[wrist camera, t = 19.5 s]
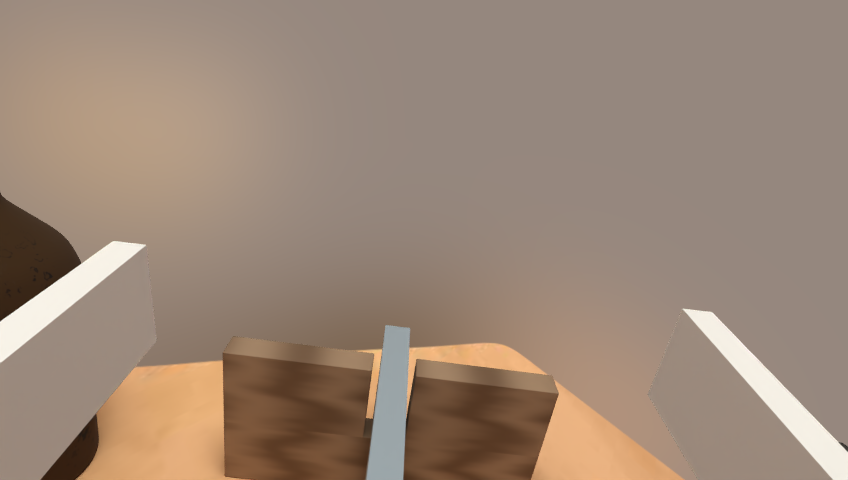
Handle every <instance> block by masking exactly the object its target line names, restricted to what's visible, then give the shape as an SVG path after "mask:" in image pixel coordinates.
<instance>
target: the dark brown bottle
mask: <svg viewBox="0 0 848 480" xmlns="http://www.w3.org/2000/svg"><path fill="white" fill-rule="evenodd" d="M80 264H81V261H80V259H79V257H78V256H77V254H76V252H75V250H74V249H73V247H72V246H71V244H70V243H69V241H68V240H67V239H66V238H65V237H64V236H63V235H62V234H61V233H59V232H58V231H57V230H55V229H54V228H53V227H51V226H49V225H48V224H46V223H44V222H43V221H41V220H39V219H38V218H36V217H34V216H33V215H31V214H29V213H27V212H26V211H24V210H22V209H21V208H19V207H17V206H15V205H14V204H12V203H11V202H9V201H8V200H6V199H5V198H4V197H3V196H2V195H1V193H0V321H2V320H3V319H4V318H6V317H7V316H9V315H10V314H11V313H13V312H14V311H16V310H17V309H18V308H20V307H21V306H23V305H24V304H25V303H27V302H28V301H30V300H31V299H33V298H34V297H35V296H37V295H38V294H40V293H41V292H42V291H44V290H45V289H47V288H48V287H49V286H51V285H52V284H54V283H55V282H56V281H58V280H59V279H61V278H62V277H63V276H65V275H66V274H68V273H69V272H71V271H72V270H73V269H75V268H76V267H78V266H79V265H80ZM98 440H99V437H98V425H97V416H96V414H95V415H94V416H93V417H92V419H91V420H90V421H89V422H88V423H87V425H86V426H85V427H84V428H83V429H82V431H81V432H80V433H79V434H78V435H77V437H76V438H75V439H74V440H73V441H72V443H71V444H70V445H69V446H68V447H67V448H66V450H65V451H64V452H63V453H62V454H61V456H60V457H59V458H58V459H57V460H56V462H55V463H54V464H53V465H52V466H51V468H50V469H49V470H48V471H47V472H46V474H45V475H44V476H43V477H42V478H41V480H74V479H75V478H76V477H77V476H78V475H79V474H81V473H82V472H83V470H84V469H85V468H86V467H87V466H88V465H89V463H90V462H91V460H92V459H93V457H94V455H95V453H96V450H97V447H98Z"/></svg>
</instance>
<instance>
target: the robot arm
mask: <svg viewBox="0 0 848 480" xmlns="http://www.w3.org/2000/svg"><path fill="white" fill-rule="evenodd" d="M156 340H157V339H156V330H155V320H154V311H153V302H152V292H151V283H150V274H149V264H148V256H147V245H142V244H134V243H125V242H117V241H113V242H111V243H110V244H109V245H107V246H106V247H104V248H103V249H102V250H100V251H99V252H97V253H96V254H95V255H93V256H92V257H90V258H89V259H87V260H86V261H85V262H83V263H82V264H80V265H79V266H78V267H76V268H75V269H73V270H72V271H71V272H69V273H68V274H66V275H65V276H63V277H62V278H61V279H59V280H58V281H56V282H55V283H54V284H52V285H51V286H49V287H48V288H47V289H45V290H44V291H42V292H41V293H40V294H38V295H37V296H35V297H34V298H33V299H31V300H30V301H28V302H27V303H25V304H24V305H23V306H21V307H20V308H18V309H17V310H16V311H14V312H13V313H11V314H10V315H9V316H7V317H6V318H4V319H3V320H2V321H0V480H41V478H42V477H43V476H44V475H45V474H46V472H47V471H48V470H49V469H50V468H51V466H52V465H53V464H54V463H55V462H56V460H57V459H58V458H59V457H60V456H61V454H62V453H63V452H64V451H65V450H66V448H67V447H68V446H69V445H70V444H71V443H72V441H73V440H74V439H75V438H76V437H77V435H78V434H79V433H80V432H81V431H82V429H83V428H84V427H85V426H86V425H87V423H88V422H89V421H90V420H91V419H92V417H93V416H94V415H95V414H96V413H97V411H98V410H99V409H100V408H101V407H102V406H103V404H104V403H105V402H106V401H107V400H108V398H109V397H110V396H111V395H112V394H113V392H114V391H115V390H116V389H117V388H118V386H119V385H120V384H121V383H122V382H123V380H124V379H125V378H126V377H127V376H128V374H129V373H130V372H131V371H132V370H133V368H134V367H135V366H136V365H137V364H138V363H139V361H140V360H141V359H142V358H143V357H144V355H145V354H146V353H147V352H148V350H149V349H150V348H151V347H152V346H153V345H154V343H155V342H156ZM648 396H649V398H650V399H651V401H652V403H653V404H654V406H655V408H656V410H657V411H658V413H659V415H660V416H661V418H662V420H663V422H664V423H665V425H666V427H667V428H668V430H669V432H670V433H671V435H672V437H673V439H674V440H675V442H676V444H677V445H678V447H679V449H680V451H681V452H682V454H683V456H684V457H685V459H686V461H687V462H688V464H689V466H690V467H691V469H692V471H693V473H694V474H695V476H696V478H697V479H698V480H848V447H847V446H846V445H844V444H843V443H840V442H837V441H836V439H835V438H834V437H833V436H832V435H831V434H830V433H829V432H828V431H827V430H826V429H825V428H824V427H823V426H822V425H821V424H820V423H819V422H818V421H817V420H816V419H815V418H814V417H813V416H812V415H811V414H810V413H809V412H808V411H807V410H806V409H805V408H804V407H803V406H802V404H801V403H800V402H799V401H798V400H797V399H796V398H794V396H793V395H792V394H791V393H790V392H789V391H788V390H787V389H786V388H785V387H784V386H783V385H782V384H781V383H780V382H779V381H778V380H777V379H776V378H775V377H774V376H773V375H772V374H771V373H770V371H768V369H767V368H766V367H765V366H764V365H763V364H762V363H761V362H760V361H759V360H758V359H757V358H756V357H755V356H754V355H753V354H752V353H751V352H750V351H749V350H748V349H747V348H746V347H745V346H744V345H743V344H742V343H741V342H740V341H739V340H738V339H737V338H736V337H735V335H734V334H733V333H732V332H731V331H730V330H729V329H728V328H727V327H726V326H725V325H724V324H723V323H722V322H721V321H720V320H719V319H718V318H717V317H716V316H715V315H714V314H713V313H712V312H706V311H698V310H689V309H682V311H681V313H680V316H679V318H678V321H677V323H676V326H675V328H674V331H673V333H672V336H671V338H670V341H669V343H668V346H667V348H666V351H665V353H664V356H663V358H662V361H661V363H660V366H659V368H658V371H657V373H656V375H655V378H654V381H653V383H652V385H651V388H650V390H649V393H648Z"/></svg>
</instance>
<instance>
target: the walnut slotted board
mask: <svg viewBox="0 0 848 480" xmlns="http://www.w3.org/2000/svg"><path fill="white" fill-rule="evenodd" d="M373 359H374V354H373V353H365V352H357V351H349V350H340V349H333V348H325V347H324V348H323V347H315V346H308V345H300V344H292V343H284V342H276V341H268V340H259V339H252V338H244V337H236V336H233V337H232V339H231V340H230V342H229V344H228V345H227V347H226V349H225V350H224V352H223V393H224V449H225V476H226V477H235V478H245V479H254V480H365V476H366V469H367V462H368V455H369V447H370V440H371V433H372V425H373V419H368V418H366V412H367V405H368V397H369V389H370V382H371V374H372V367H373ZM558 394H559V393H558V390H557V388H556V385H555V382H554V379H553V376H550V375H542V374H534V373H526V372H518V371H510V370H502V369H494V368H486V367H478V366H470V365H462V364H454V363H446V362H437V361H429V360H421V359H417V360H416V366H415V372H414V378H413V383H412V389H411V395H410V401H409V406H408V412H407V418H406V428H405V450H404V472H403V480H531V477H532V474H533V471H534V468H535V465H536V462H537V459H538V456H539V453H540V450H541V447H542V444H543V441H544V438H545V434H546V431H547V428H548V425H549V422H550V419H551V416H552V413H553V410H554V407H555V404H556V401H557V398H558Z"/></svg>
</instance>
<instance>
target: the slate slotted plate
mask: <svg viewBox="0 0 848 480" xmlns="http://www.w3.org/2000/svg"><path fill="white" fill-rule="evenodd" d="M409 339H410V328H404V327H396V326H388V325H386V327H385V335H384V342H383V349H382V356H381V363H380V371H379V378H378V385H377V392H376V400H375V407H374V414H373V425H372V433H371V440H370V447H369V455H368V462H367V469H366V476H365V480H403V472H404V450H405V428H406V406H407V384H408V362H409Z"/></svg>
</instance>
